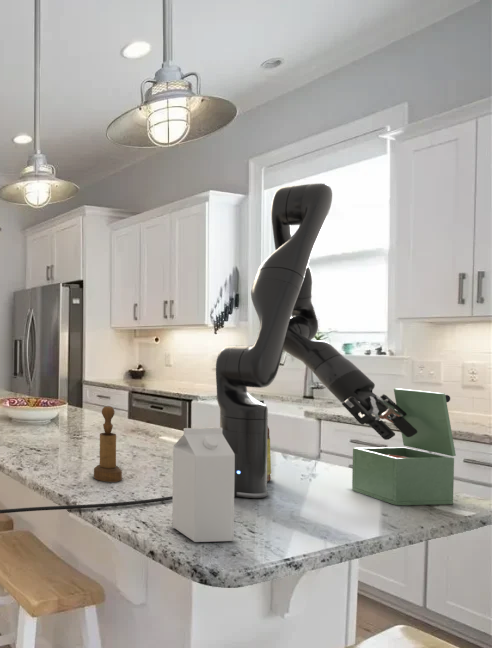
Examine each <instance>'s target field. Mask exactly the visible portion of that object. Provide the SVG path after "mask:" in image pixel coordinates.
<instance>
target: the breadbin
mask: <svg viewBox="0 0 492 648" xmlns="http://www.w3.org/2000/svg"><path fill="white" fill-rule="evenodd" d="M383 454H384V455H383ZM387 455H397V456H403V457H408V458H396V457H392V456H387ZM351 472H352V475H351V476H352V477H351V479H352V480H351V483H352V484H351V490H352V491H354V492H357V493H360V494H363V495H365V496H367V497H371V498H373V499H376V500H379V501H382V502H385V503H389V504H391V505H393V506H432V505H435V506H437V505H439V506H440V505H453V504H454V484H455V483H454V482H455V481H454V479H455V457H453V456H449V455H444V454H440V453H435V452H430V451H426V450H421V449H417V448H412V447H408V446H390V447H389V446H386V447H385V446H382V447H381V446H380V447H379V446H378V447H352V471H351Z"/></svg>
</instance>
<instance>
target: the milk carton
mask: <svg viewBox="0 0 492 648" xmlns="http://www.w3.org/2000/svg"><path fill="white" fill-rule="evenodd" d="M234 476H235V454H234V452H233V451H232V449H231V447H230V446H229V444H228V442H227V441H226V439H225V437H224V436H223V434H222V428H220V427H185V428H183V434H182V435H181V436H180V437H179V439H178V440H177V441H176V442H175V444H174V445H173V446H172V496H173V500H172V506H171V507H172V509H171V510H172V511H171V512H172V513H171V515H172V516H171V519H172V520H171V522H172V523H171V527H172V528H173V529H175V530H176V531H178V532H179V533H181V535H184V536H185V537H186V538H188V539H190V540H191V541H193V542H194V543H209V542H234V539H235V537H234V536H235V535H234V534H235V496H234Z"/></svg>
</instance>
